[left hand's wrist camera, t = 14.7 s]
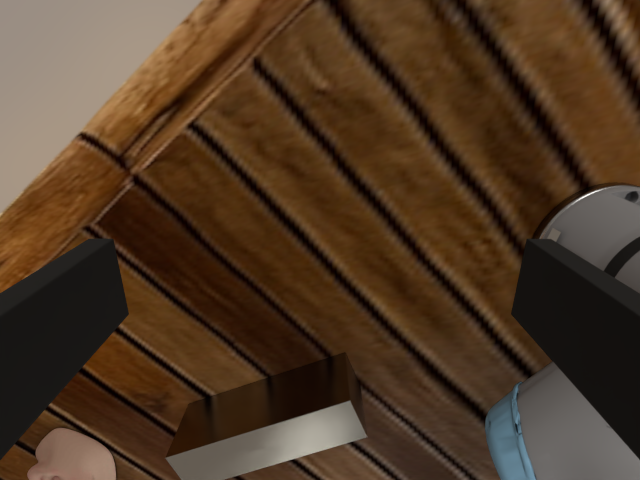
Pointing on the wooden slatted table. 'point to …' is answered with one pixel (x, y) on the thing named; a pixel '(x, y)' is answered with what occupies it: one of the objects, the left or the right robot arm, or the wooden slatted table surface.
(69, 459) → the anatomical model
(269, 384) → the bar
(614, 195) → the left robot arm
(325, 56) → the wooden slatted table surface
